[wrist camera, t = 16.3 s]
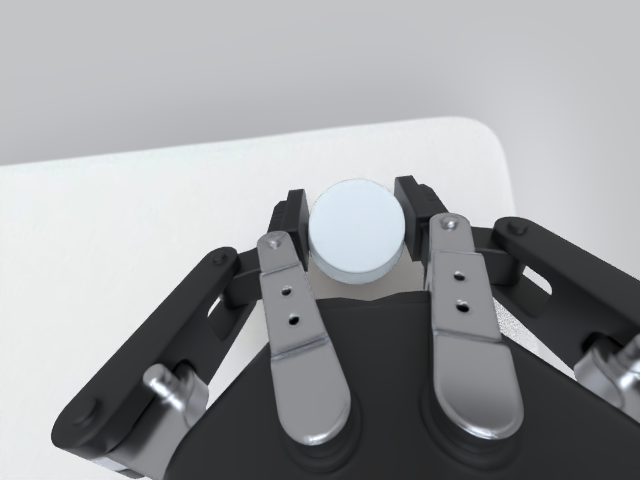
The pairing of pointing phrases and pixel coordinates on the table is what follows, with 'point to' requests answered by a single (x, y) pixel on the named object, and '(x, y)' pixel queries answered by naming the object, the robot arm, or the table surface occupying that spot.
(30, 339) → the table surface
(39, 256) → the table surface
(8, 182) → the table surface
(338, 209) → the pill bottle
